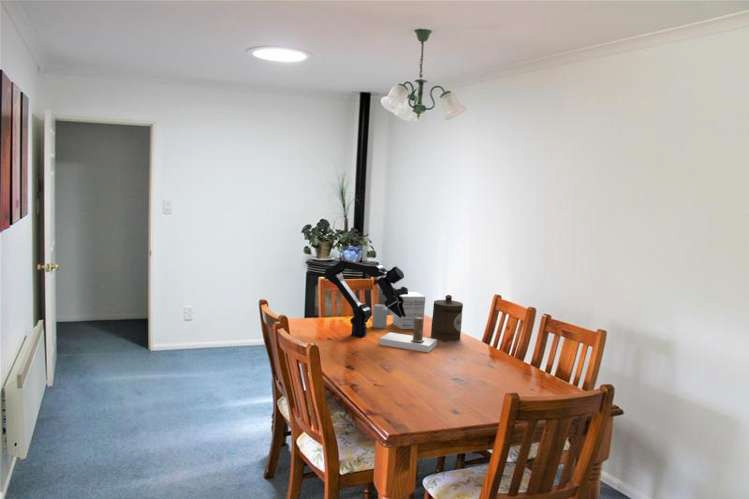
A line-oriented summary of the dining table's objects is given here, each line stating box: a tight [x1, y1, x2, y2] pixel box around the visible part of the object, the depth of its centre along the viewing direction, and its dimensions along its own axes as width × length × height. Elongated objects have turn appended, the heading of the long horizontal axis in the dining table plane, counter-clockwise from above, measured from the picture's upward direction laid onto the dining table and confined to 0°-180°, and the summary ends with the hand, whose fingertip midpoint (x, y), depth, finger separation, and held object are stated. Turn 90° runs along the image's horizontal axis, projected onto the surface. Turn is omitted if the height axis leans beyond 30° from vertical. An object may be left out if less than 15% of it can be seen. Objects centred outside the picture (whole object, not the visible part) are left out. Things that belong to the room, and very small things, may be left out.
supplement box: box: [392, 291, 426, 330], centre depth 344 cm, size 13×13×18 cm
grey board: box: [379, 332, 438, 353], centre depth 306 cm, size 24×14×3 cm, turn 70°
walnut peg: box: [412, 317, 425, 343], centre depth 301 cm, size 5×5×14 cm
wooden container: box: [430, 294, 464, 342], centre depth 323 cm, size 15×15×22 cm
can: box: [371, 303, 388, 330], centre depth 337 cm, size 8×8×12 cm
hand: (403, 317), depth 307 cm, fingers open, 9 cm apart
